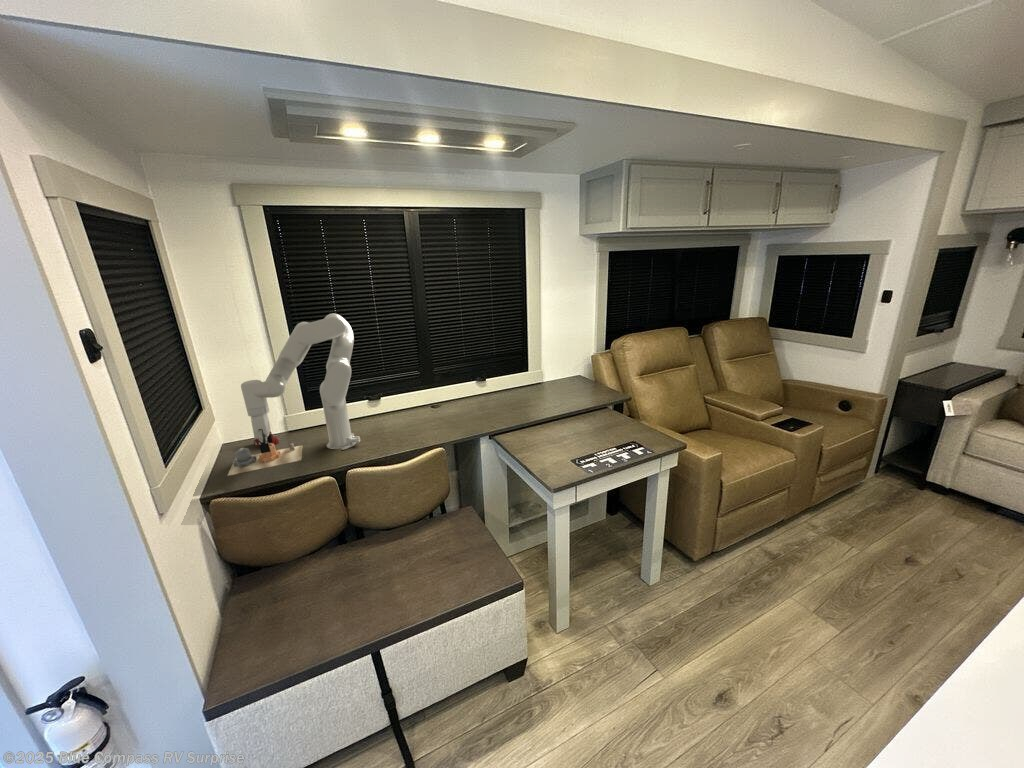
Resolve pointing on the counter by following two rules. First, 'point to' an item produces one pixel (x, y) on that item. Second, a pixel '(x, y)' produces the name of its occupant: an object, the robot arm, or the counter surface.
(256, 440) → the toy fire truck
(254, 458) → the grey octopus toy
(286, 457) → the gear board
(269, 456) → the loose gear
